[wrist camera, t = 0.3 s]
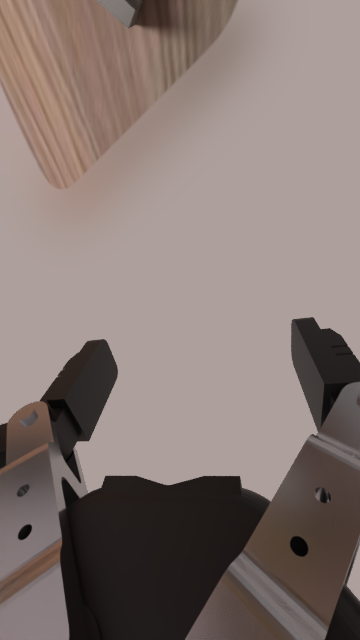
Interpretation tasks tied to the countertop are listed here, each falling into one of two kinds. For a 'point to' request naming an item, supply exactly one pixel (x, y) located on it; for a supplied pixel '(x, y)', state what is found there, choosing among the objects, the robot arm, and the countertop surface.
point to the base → (124, 10)
